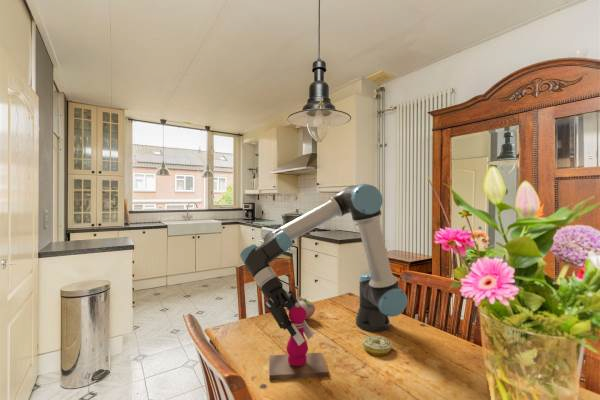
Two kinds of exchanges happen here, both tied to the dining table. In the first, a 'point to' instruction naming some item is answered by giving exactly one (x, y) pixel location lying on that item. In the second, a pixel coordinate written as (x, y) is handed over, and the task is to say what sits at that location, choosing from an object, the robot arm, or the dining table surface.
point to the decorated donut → (377, 345)
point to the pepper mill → (293, 349)
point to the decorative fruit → (307, 307)
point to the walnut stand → (297, 367)
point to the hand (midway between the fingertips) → (306, 339)
